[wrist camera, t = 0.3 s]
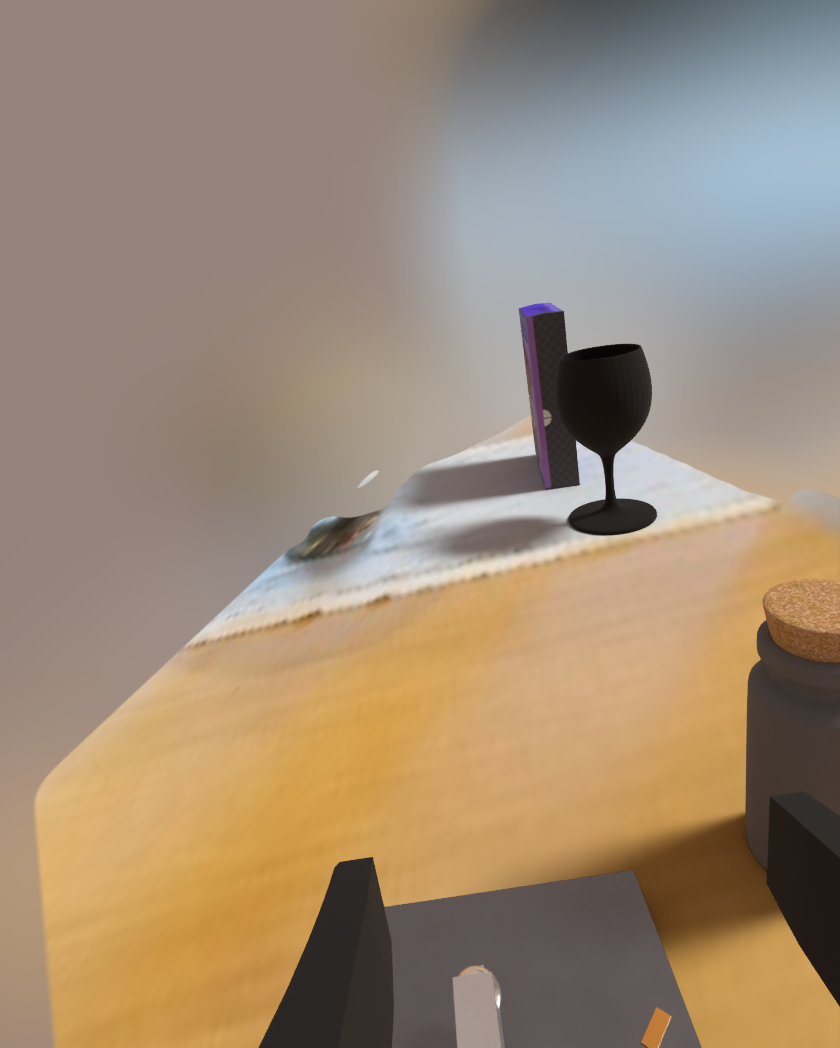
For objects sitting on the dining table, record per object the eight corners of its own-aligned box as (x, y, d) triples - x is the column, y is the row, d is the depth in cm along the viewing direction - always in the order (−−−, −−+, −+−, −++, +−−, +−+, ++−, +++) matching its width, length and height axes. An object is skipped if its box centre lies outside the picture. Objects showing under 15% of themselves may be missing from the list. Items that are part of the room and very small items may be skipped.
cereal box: (535, 455, 106) (518, 307, 97) (564, 450, 105) (549, 301, 96) (545, 489, 90) (526, 316, 81) (579, 485, 89) (563, 309, 80)
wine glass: (660, 500, 79) (653, 338, 72) (653, 535, 70) (645, 355, 63) (577, 502, 83) (562, 349, 76) (561, 535, 75) (542, 366, 68)
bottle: (836, 799, 36) (856, 565, 30) (901, 895, 30) (939, 631, 25) (728, 807, 37) (729, 580, 31) (772, 901, 31) (782, 647, 26)
